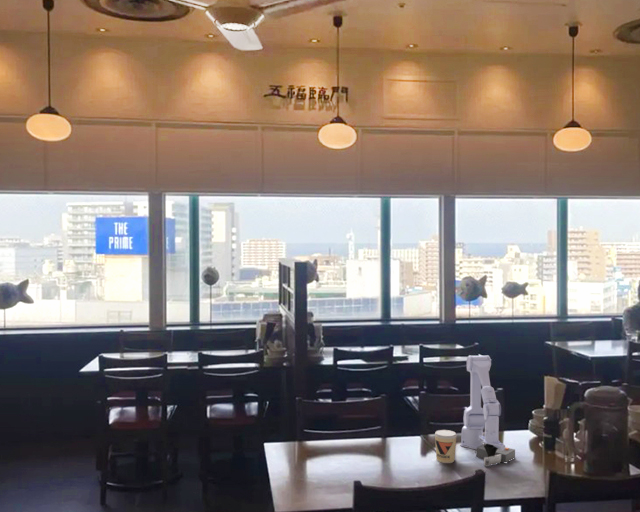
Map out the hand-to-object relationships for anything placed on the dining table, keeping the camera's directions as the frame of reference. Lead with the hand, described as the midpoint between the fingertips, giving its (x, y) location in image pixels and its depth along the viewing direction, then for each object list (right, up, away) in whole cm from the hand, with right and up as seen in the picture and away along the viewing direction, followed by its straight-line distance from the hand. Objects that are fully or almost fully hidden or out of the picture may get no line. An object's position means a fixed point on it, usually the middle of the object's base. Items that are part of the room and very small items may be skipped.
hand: (491, 461), depth 271 cm
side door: (+1, -1, -1) cm, 1 cm away
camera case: (+4, -1, +9) cm, 10 cm away
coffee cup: (-18, -1, +6) cm, 19 cm away
